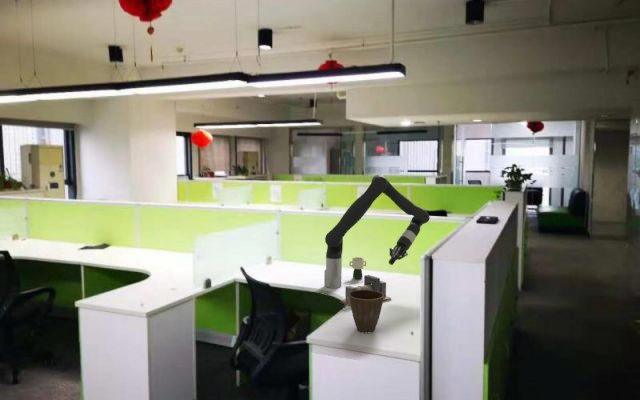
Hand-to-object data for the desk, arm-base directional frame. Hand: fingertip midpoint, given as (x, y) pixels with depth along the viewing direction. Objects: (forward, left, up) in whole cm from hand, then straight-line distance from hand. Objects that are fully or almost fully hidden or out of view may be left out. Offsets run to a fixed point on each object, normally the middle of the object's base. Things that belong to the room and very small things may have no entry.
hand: (390, 263), depth 262 cm
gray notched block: (-5, -12, -14) cm, 20 cm away
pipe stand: (-6, -16, -18) cm, 25 cm away
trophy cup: (-33, +26, -18) cm, 46 cm away
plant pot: (+14, -56, -18) cm, 61 cm away
